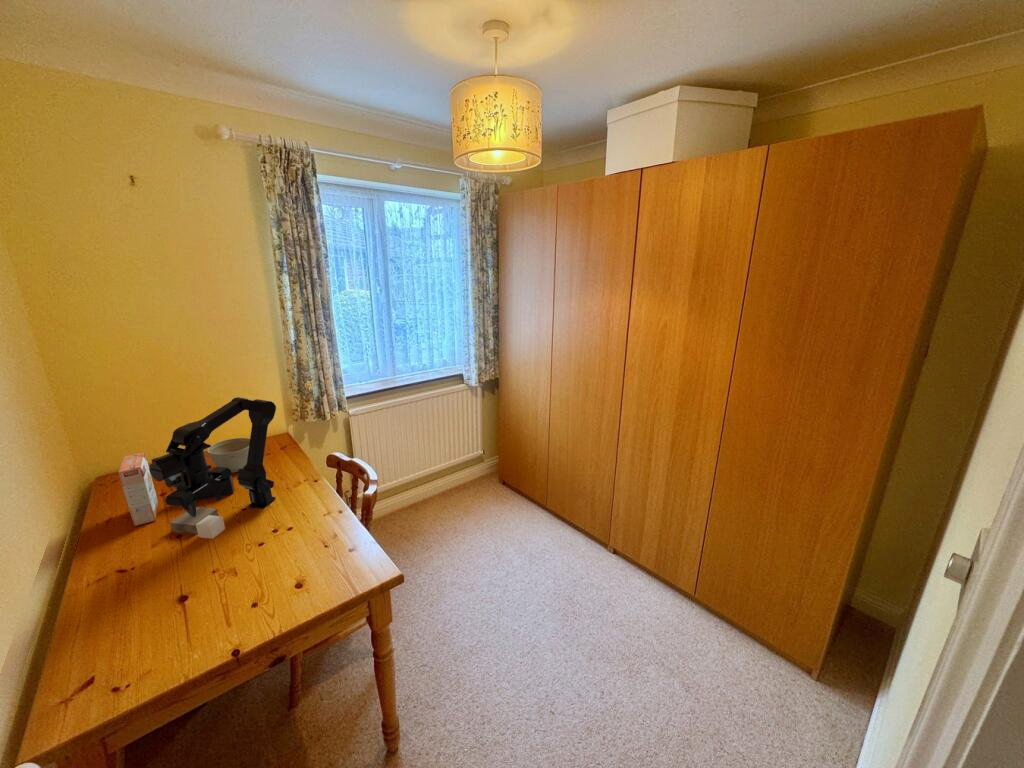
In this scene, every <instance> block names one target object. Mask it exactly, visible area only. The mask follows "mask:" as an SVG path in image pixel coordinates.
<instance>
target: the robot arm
mask: <svg viewBox="0 0 1024 768" xmlns="http://www.w3.org/2000/svg"><path fill="white" fill-rule="evenodd" d="M244 411H248V418H249V420H250V423H251V431H250V437H249V439H250V443H249V450H248V458H247V464H246V465H245V466H244V468H243V469H239V470H238V474H237V478H236V480H237V483H238V484H239V485H240V487H242V488H243V487H244V489H245V490H248V495H249V496H248V497H249V500H250V503H249V504H248V508H259V509H260V508H261V509H264V508H267V506H269V505H270V504H272V502H274V501H275V500H276V499H277V498H276V496H273V494H272V489H273V488H274V487H275V486H274V485H275V481H273V480H270V479H267V470H266V468H265V465H264V459H265V458H264V456H265V451H266V450H265V449H266V442H267V435H268V427H269V424H270V423H271V422H272V421H273V420H274V417H275V414H276V411H277V406H276V404H275V403H274V402H273V401H270V400H264V399H257V398H256V399H254V400H252V399H248V398H245V397H239V396H238V397H237V396H236V397H234V398H232V399H231V400H230V401H229V402H227V403H226V404H224V405H222V406H221V407H220V408H218V409H216V410H214V411H213V412H211V413H210V414H207V416H205V417H202V419H199V420H197V421H193V422H189V423H187V424H184V425H181V426H180V427H177V428H176V429H175V430H173V432H172V435H171V440H170V442H169V444H168V446H167V448H166V450H165V452H166V454H165V455H162V456H159V457H154V458H152V459H151V464H150V465H149V471H150V474H151V477H152V479H154V480H155V481H157V482H163V481H164V484H165V486H166V487H167V488H176V487H177V486H179V485H182V486H183V487H187V486H189V488H188V489H187V490H177V489H176V490H175V491H173V492H171V493H170V494H168V495H167V496H166V497H165V498H164V500H165V504H166V506H173V507H174V506H176V507H181V508H183V509H184V510H185V512H188V513H189V514H190V516H191V517H196V507H197V501H196V499H194V494H193V493H195V492H196V491H198V490H199V489H201V488H203V487H204V486H206V485H207V484H208V483H210V484H211V485H212V489H213V492H214V496H215V497H214V498H215V500H216V501H220V500H221V498H222V496H221V495H222V493H223V490H224V487H225V485H226V483H227V481H228V480H229V477H230V476H231V475H233V473H231V470H230V469H229V468H225V467H217V466H215V467H213V468H212V465H211V464H208V462H207V458H206V454H205V451H204V450H208V448H209V447H211V446H212V445H211V444H208V443H206V440H208V439H209V438H210V436H211V434H212V433H213V432H214V431H215V430H217V429H218V428H220V427H221V426H222V425H224V424H225V423H227V422H229V421H230V420H231V419H233V418H235V417H236V416H238V415H239V414H241V413H242V412H244ZM179 446H181V447H184V448H181V447H179Z"/></svg>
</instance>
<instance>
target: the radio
mask: <svg viewBox="0 0 1024 768" xmlns="http://www.w3.org/2000/svg"><path fill="white" fill-rule="evenodd" d="M232 457H233V456H232ZM230 458H231V457H230ZM228 459H229V458H228ZM226 460H227V459H226ZM223 461H224V460H223ZM221 462H222V461H221ZM219 463H220V462H219ZM217 464H218V463H217ZM213 466H216V465H215V464H214V463H213V464H212V465H211V467H213ZM232 475H233V474H232ZM232 475H231V476H230V477H229V480H228V481H227V483H226V485H225V487H224V490H223V493H222V495H221V497H224V496H229V495H233V494H234V493H235V490H236V489H235V484H234V479H233V476H232ZM175 488H176V490H187V489H188V488H189V486H187V487H183V486H182V485H179V486H177V487H175ZM193 494H194V499H196V502H197V501H203V500H208V499H214V498H215V496H214V492H213V489H212V485H211V484H210V483H208V484H207V485H206V486H204V487H203V488H201V489H199V490H198V491H196V492H195V493H193Z"/></svg>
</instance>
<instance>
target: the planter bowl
mask: <svg viewBox="0 0 1024 768" xmlns="http://www.w3.org/2000/svg"><path fill="white" fill-rule="evenodd" d="M249 443H250V437H249V438H248V437H235V438H228V439H224V440H221V441H218V442H216V443H213V444H212V445H211V447H209V448H207V449H206V451H207V453H208V456H209V459H210V460H211V462H212V463H213V465H214V464H215V465H214V466H215V467H225V468H229V469H230V470H231V473H232V474H233V473H237V472H238V470H239V469H243V468H244V466H245V465H246V464H247V458H248V450H249ZM232 456H233V457H232ZM230 457H231V458H230ZM228 458H229V459H228ZM226 459H227V460H226ZM223 460H224V461H223ZM221 461H222V462H221ZM219 462H220V463H219ZM217 463H218V464H217Z"/></svg>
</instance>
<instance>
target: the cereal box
mask: <svg viewBox="0 0 1024 768" xmlns="http://www.w3.org/2000/svg"><path fill="white" fill-rule="evenodd" d="M149 469H150V465H149V462H148V459H147V456H146V453H145V452H140V453H135V454H130V455H125V456H123V458H122V462H121V464H120V467H119V470H118V475H119V479H120V482H121V486H122V490H123V492H124V496H125V499H126V502H127V505H128V509H129V513H130V517H131V519H132V523H133V525H134V527H137V526H140V525H144V524H148V523H151V522H155V521H156V519H157V512H158V505H159V500H158V497H157V493H156V489H155V485H154V483H153V477H152V475H151V473H150V471H149Z"/></svg>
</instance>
